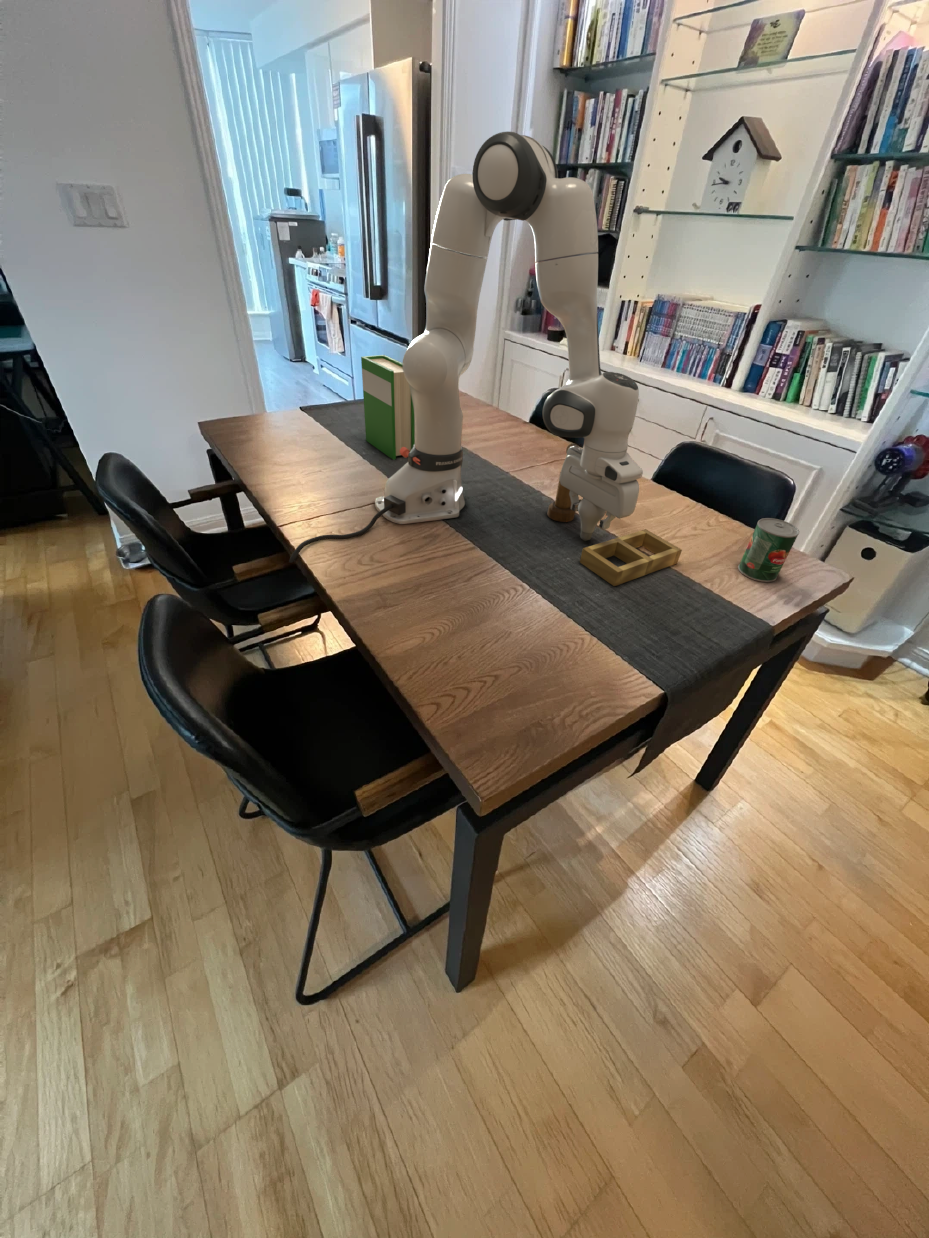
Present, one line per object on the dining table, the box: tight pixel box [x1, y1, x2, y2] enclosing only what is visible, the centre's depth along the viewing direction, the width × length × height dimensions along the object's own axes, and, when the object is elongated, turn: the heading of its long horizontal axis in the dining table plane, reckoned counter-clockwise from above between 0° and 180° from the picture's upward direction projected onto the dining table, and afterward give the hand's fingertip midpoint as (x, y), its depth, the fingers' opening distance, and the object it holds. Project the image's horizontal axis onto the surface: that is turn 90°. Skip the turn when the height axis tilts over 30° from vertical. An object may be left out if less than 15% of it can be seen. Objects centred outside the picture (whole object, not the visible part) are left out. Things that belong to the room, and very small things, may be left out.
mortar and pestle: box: [546, 442, 580, 523], centre depth 125 cm, size 7×6×18 cm
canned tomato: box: [737, 517, 800, 583], centre depth 111 cm, size 8×8×11 cm
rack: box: [579, 528, 683, 587], centre depth 114 cm, size 19×10×4 cm, turn 122°
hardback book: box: [360, 354, 415, 460], centre depth 153 cm, size 18×7×24 cm, turn 34°
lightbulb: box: [577, 497, 606, 542], centre depth 118 cm, size 6×6×11 cm
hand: (589, 518), depth 118 cm, fingers open, 8 cm apart
